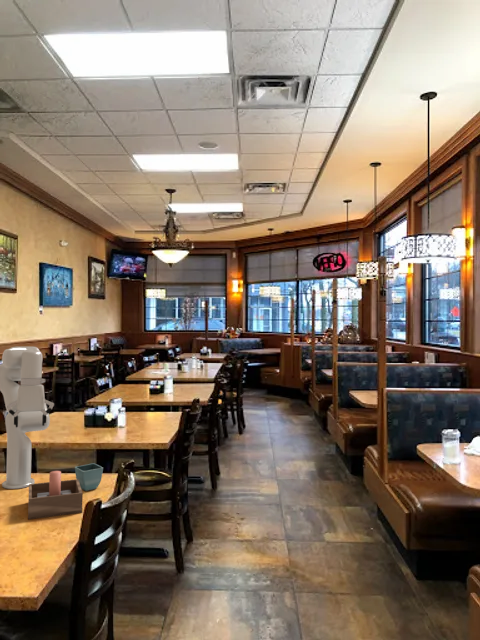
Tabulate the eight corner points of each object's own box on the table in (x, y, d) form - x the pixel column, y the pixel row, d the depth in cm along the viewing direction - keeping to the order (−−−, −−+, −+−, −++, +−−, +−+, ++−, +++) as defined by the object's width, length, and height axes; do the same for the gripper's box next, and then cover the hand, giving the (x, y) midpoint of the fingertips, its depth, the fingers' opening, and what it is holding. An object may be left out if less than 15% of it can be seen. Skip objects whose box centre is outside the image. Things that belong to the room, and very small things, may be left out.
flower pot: (82, 493, 198) (83, 471, 198) (73, 488, 204) (74, 466, 205) (103, 489, 204) (103, 467, 204) (93, 484, 210) (94, 463, 210)
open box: (28, 502, 187) (28, 484, 187) (77, 496, 194) (78, 479, 194) (28, 519, 170) (28, 499, 170) (82, 512, 177) (82, 493, 177)
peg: (48, 503, 183) (49, 471, 183) (60, 502, 185) (60, 470, 185) (49, 507, 179) (49, 474, 180) (60, 505, 181) (61, 473, 181)
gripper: (54, 380, 199) (53, 422, 199) (7, 381, 192) (6, 425, 192) (55, 382, 192) (54, 426, 192) (6, 383, 185) (5, 429, 185)
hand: (30, 425), depth 192 cm, fingers open, 9 cm apart
